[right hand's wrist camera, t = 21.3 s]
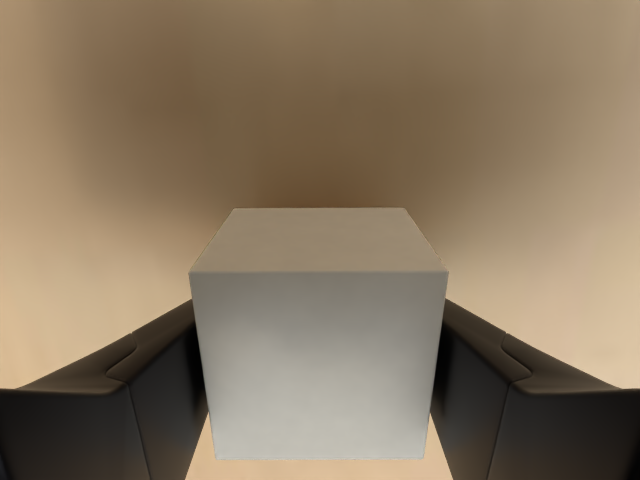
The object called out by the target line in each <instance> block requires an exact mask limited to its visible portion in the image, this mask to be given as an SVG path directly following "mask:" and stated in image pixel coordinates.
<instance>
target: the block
mask: <svg viewBox="0 0 640 480" xmlns="http://www.w3.org/2000/svg"><path fill="white" fill-rule="evenodd" d="M448 274H449V272H448V270H447V268H446V267H445V265H444V264H443V262H442V261H441V260H440V258H439V257H438V255H437V254H436V252H435V251H434V250H433V248H432V247H431V245H430V244H429V242H428V241H427V240H426V238H425V237H424V235H423V234H422V232H421V231H420V229H419V228H418V227H417V225H416V224H415V222H414V221H413V219H412V218H411V217H410V215H409V214H408V212H407V211H406V209H405V208H234V209H233V210H232V211H231V213H230V214H229V216H228V217H227V218H226V220H225V221H224V223H223V224H222V225H221V227H220V228H219V230H218V231H217V233H216V234H215V235H214V237H213V238H212V240H211V241H210V242H209V244H208V245H207V247H206V248H205V250H204V251H203V252H202V254H201V255H200V257H199V258H198V259H197V261H196V262H195V264H194V265H193V266H192V268H191V269H190V271H189V280H190V287H191V294H192V301H193V307H194V314H195V321H196V328H197V335H198V342H199V349H200V356H201V362H202V369H203V376H204V383H205V390H206V397H207V404H208V410H209V417H210V424H211V431H212V438H213V445H214V452H215V458H216V460H378V459H423V458H424V451H425V444H426V437H427V429H428V422H429V414H430V407H431V400H432V392H433V385H434V377H435V370H436V363H437V355H438V348H439V340H440V333H441V326H442V318H443V311H444V303H445V296H446V289H447V281H448Z"/></svg>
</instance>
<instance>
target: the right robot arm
mask: <svg viewBox="0 0 640 480" xmlns="http://www.w3.org/2000/svg"><path fill="white" fill-rule="evenodd" d="M208 411H209V410H208V404H207V397H206V390H205V383H204V376H203V369H202V362H201V356H200V349H199V342H198V335H197V328H196V321H195V314H194V307H193V301H192V299H191V300H189V301H187V302H185V303H183V304H182V305H180V306H178V307H176V308H174V309H173V310H171V311H169V312H167V313H166V314H164V315H162V316H160V317H158V318H157V319H155V320H153V321H151V322H149V323H148V324H146V325H144V326H142V327H141V328H139V329H137V330H135V331H133V332H132V334H131V333H130V334H128V335H126V336H124V337H123V338H121V339H119V340H117V341H115V342H113V343H112V344H110V345H108V346H106V347H104V348H102V349H100V350H98V351H96V352H94V353H92V354H90V355H88V356H86V357H84V358H82V359H80V360H78V361H76V362H74V363H71V364H69V365H67V366H65V367H63V368H61V369H59V370H57V371H55V372H53V373H50V374H48V375H46V376H44V377H42V378H40V379H38V380H36V381H34V382H32V383H29V384H27V385H25V386H22V387H19V388H16V389H0V480H185V478H186V475H187V472H188V469H189V466H190V463H191V460H192V458H193V455H194V452H195V449H196V446H197V443H198V440H199V437H200V434H201V432H202V429H203V426H204V423H205V420H206V417H207V414H208ZM430 413H431V416H432V419H433V422H434V425H435V428H436V431H437V434H438V437H439V440H440V442H441V445H442V448H443V451H444V454H445V457H446V460H447V463H448V466H449V469H450V472H451V475H452V477H453V480H640V389H621V388H618V387H615V386H613V385H610V384H608V383H606V382H604V381H602V380H600V379H597V378H595V377H593V376H591V375H589V374H587V373H585V372H583V371H581V370H579V369H577V368H575V367H572V366H570V365H568V364H566V363H564V362H562V361H560V360H558V359H556V358H554V357H552V356H550V355H548V354H546V353H544V352H542V351H540V350H538V349H536V348H534V347H532V346H530V345H528V344H526V343H524V342H523V341H521V340H519V339H517V338H515V337H514V336H512V335H510V334H508V333H507V334H506V332H505V331H503V330H501V329H499V328H498V327H496V326H494V325H492V324H490V323H489V322H487V321H485V320H483V319H482V318H480V317H478V316H476V315H474V314H473V313H471V312H469V311H467V310H466V309H464V308H462V307H460V306H458V305H457V304H455V303H453V302H451V301H450V300H448V299H446V298H445V303H444V311H443V318H442V326H441V333H440V340H439V348H438V355H437V363H436V370H435V377H434V385H433V392H432V400H431V407H430Z"/></svg>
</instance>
